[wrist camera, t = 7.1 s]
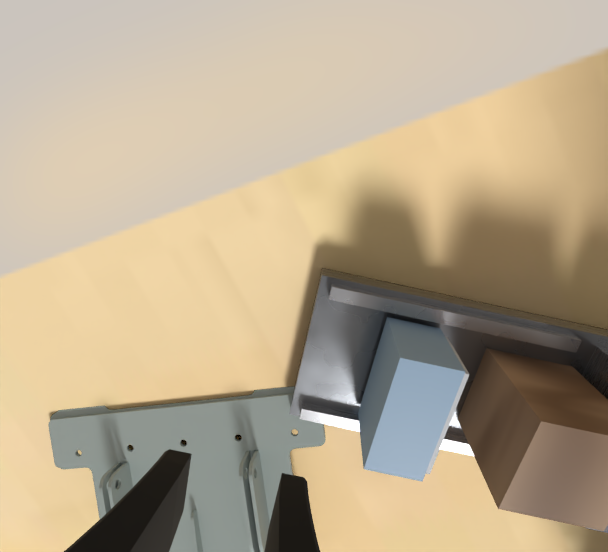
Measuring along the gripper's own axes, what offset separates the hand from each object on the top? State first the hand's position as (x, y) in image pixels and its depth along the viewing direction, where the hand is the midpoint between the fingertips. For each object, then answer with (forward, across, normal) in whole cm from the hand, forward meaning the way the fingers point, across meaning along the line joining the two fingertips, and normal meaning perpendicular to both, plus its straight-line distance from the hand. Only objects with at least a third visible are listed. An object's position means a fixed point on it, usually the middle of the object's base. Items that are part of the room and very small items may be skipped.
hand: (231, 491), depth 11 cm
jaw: (+8, -6, 0) cm, 10 cm away
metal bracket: (+10, +2, +11) cm, 15 cm away
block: (+8, -12, 0) cm, 14 cm away
